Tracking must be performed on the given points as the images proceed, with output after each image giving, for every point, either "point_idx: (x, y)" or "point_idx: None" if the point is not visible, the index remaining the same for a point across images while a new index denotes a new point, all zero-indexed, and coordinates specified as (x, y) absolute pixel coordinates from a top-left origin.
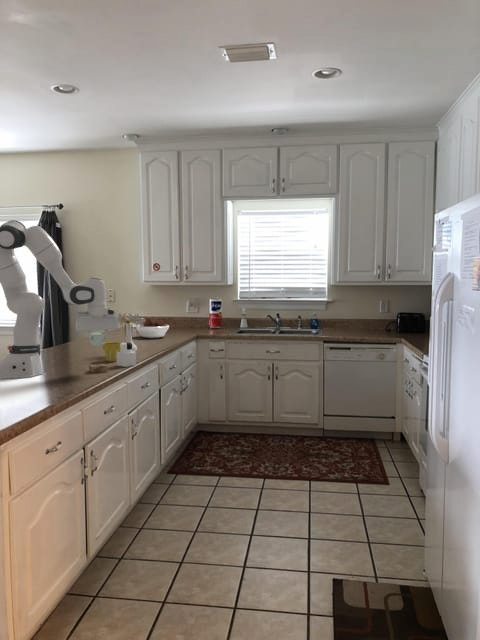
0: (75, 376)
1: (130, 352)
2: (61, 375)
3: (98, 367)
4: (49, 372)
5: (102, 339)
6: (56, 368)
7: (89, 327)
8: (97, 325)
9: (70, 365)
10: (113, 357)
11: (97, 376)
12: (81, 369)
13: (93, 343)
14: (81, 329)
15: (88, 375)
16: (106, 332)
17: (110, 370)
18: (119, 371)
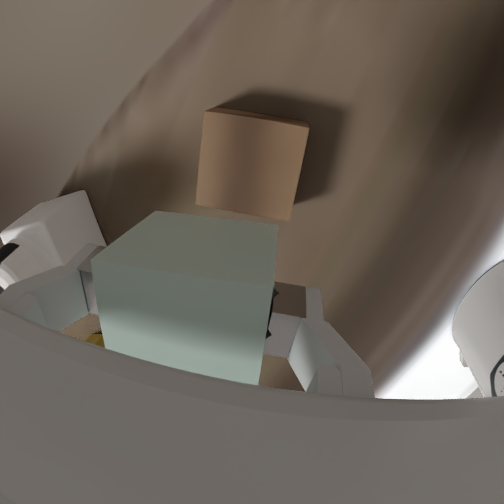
0: (428, 108)
1: (17, 233)
2: (458, 189)
3: (267, 119)
4: (443, 292)
5: (138, 235)
6: (367, 350)
7: (363, 458)
8: (115, 461)
9: (288, 370)
10: (100, 345)
11: (329, 15)
12: (299, 270)
13: (277, 233)
14: (499, 415)
15: (359, 78)
16: (31, 288)
17: (178, 142)
18: (148, 82)
